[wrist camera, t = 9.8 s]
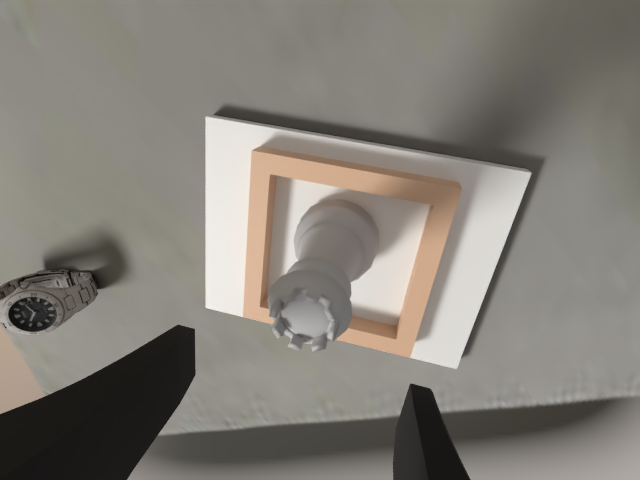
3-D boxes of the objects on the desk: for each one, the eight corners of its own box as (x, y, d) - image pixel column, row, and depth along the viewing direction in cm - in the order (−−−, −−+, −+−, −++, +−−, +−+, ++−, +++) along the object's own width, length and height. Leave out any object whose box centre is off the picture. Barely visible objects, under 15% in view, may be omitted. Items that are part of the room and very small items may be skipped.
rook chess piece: (396, 223, 19) (392, 312, 12) (353, 285, 21) (327, 392, 14) (322, 180, 19) (273, 243, 12) (285, 245, 21) (225, 333, 14)
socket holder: (526, 168, 18) (540, 179, 16) (455, 359, 23) (459, 383, 21) (212, 114, 20) (193, 119, 18) (211, 301, 25) (196, 318, 23)
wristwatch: (112, 300, 27) (55, 346, 23) (42, 296, 28) (-26, 338, 24) (98, 257, 26) (33, 296, 21) (25, 254, 27) (-51, 290, 23)
